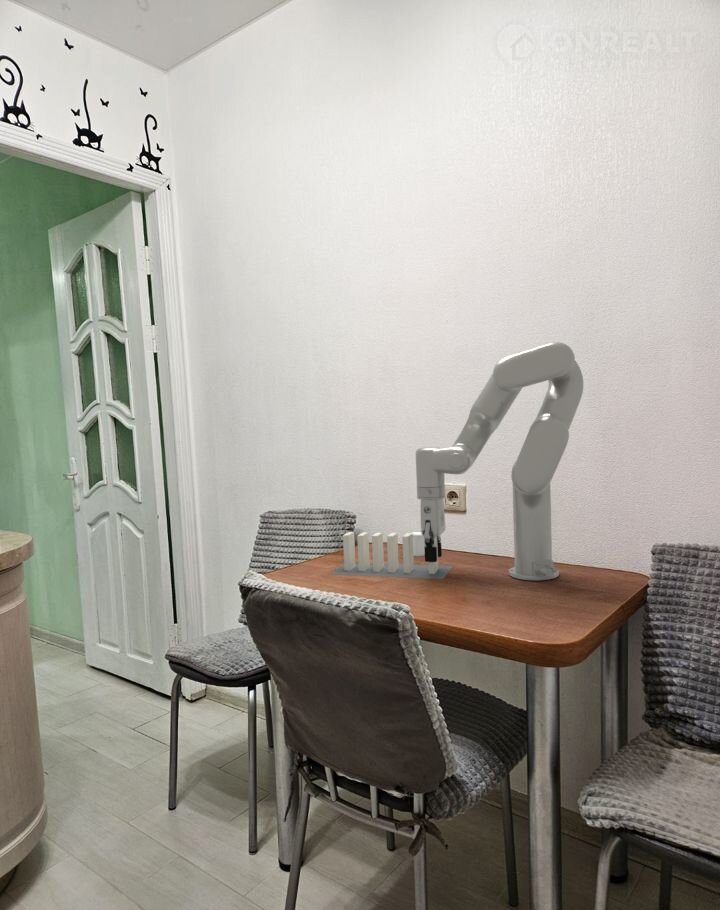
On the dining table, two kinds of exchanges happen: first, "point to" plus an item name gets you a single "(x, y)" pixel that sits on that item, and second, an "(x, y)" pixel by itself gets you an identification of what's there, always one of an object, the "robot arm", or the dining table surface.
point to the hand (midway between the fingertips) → (433, 558)
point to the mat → (417, 572)
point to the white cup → (418, 544)
